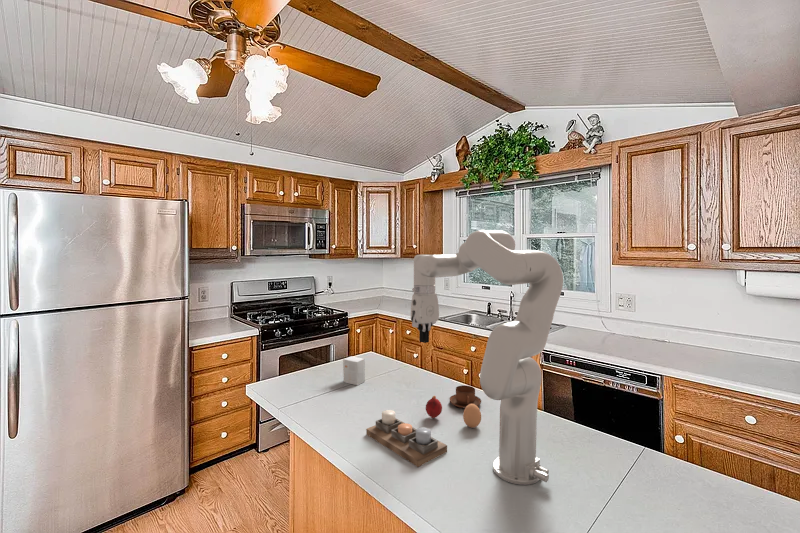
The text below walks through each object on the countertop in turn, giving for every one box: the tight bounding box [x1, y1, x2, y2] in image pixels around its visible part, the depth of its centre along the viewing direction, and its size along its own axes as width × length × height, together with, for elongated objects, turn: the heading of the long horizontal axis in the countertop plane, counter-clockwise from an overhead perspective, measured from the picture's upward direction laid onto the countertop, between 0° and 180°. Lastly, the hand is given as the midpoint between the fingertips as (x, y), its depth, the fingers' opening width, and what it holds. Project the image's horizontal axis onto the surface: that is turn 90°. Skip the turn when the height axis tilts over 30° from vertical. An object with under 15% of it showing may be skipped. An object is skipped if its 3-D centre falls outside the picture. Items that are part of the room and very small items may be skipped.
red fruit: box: [425, 395, 443, 419], centre depth 137 cm, size 6×6×8 cm
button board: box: [365, 417, 448, 468], centre depth 120 cm, size 24×12×4 cm, turn 41°
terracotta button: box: [398, 422, 413, 436], centre depth 120 cm, size 4×4×3 cm
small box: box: [342, 355, 366, 386], centre depth 172 cm, size 8×6×10 cm
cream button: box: [381, 409, 396, 425], centre depth 126 cm, size 4×4×3 cm
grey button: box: [415, 427, 432, 445], centre depth 113 cm, size 4×4×3 cm
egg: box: [462, 404, 482, 429], centre depth 130 cm, size 6×6×8 cm
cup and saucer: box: [449, 384, 482, 409], centre depth 149 cm, size 12×12×6 cm
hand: (424, 341), depth 136 cm, fingers closed
